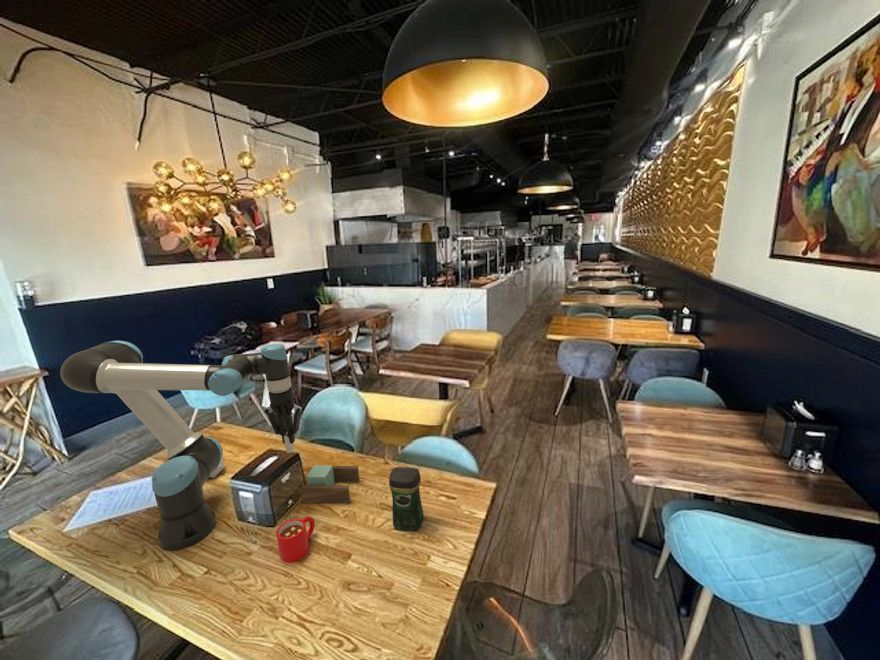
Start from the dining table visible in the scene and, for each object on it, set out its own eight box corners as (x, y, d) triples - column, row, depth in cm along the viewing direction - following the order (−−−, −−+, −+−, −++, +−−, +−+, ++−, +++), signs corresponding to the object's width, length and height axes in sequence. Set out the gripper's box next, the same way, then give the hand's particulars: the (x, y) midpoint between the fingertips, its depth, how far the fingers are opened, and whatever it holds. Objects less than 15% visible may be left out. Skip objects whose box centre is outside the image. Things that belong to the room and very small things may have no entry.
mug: (324, 535, 113) (321, 513, 111) (294, 566, 103) (290, 542, 101) (305, 528, 116) (302, 506, 115) (274, 557, 106) (269, 534, 104)
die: (231, 472, 150) (225, 448, 153) (216, 474, 141) (210, 449, 144) (212, 481, 149) (206, 457, 152) (195, 483, 141) (190, 458, 144)
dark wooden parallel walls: (348, 503, 127) (347, 488, 125) (300, 503, 128) (298, 488, 127) (359, 479, 139) (358, 465, 138) (315, 479, 141) (313, 465, 139)
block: (328, 497, 130) (325, 477, 128) (308, 496, 131) (306, 477, 129) (335, 484, 137) (332, 465, 135) (316, 484, 138) (314, 465, 136)
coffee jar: (425, 514, 120) (422, 463, 115) (420, 533, 112) (416, 479, 108) (397, 512, 121) (392, 462, 117) (389, 530, 114) (385, 477, 110)
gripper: (303, 384, 129) (312, 445, 134) (267, 385, 130) (278, 445, 135) (293, 392, 122) (303, 456, 127) (255, 393, 123) (267, 457, 128)
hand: (290, 450), depth 131 cm, fingers closed
